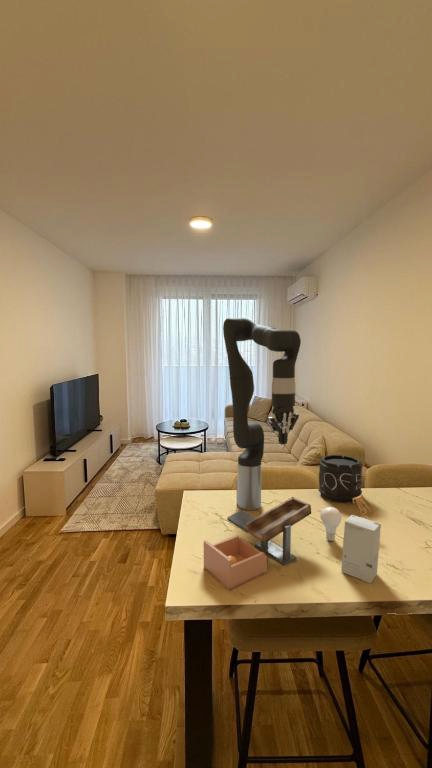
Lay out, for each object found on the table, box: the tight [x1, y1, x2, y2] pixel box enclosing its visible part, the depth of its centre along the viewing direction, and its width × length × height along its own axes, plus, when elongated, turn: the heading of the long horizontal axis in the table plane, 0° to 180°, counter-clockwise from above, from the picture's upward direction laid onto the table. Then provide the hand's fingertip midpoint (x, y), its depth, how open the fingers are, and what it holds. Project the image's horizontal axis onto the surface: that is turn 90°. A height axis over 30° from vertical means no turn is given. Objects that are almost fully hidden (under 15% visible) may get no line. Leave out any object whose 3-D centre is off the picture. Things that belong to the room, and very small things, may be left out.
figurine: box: [352, 494, 372, 521], centre depth 125 cm, size 8×6×12 cm
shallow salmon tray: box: [203, 535, 268, 591], centre depth 101 cm, size 12×13×8 cm
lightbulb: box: [320, 506, 342, 542], centre depth 117 cm, size 6×6×11 cm
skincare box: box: [340, 514, 382, 584], centre depth 99 cm, size 8×6×15 cm
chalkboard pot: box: [317, 454, 364, 504], centre depth 153 cm, size 18×18×16 cm
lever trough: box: [226, 496, 312, 543], centre depth 114 cm, size 20×18×3 cm
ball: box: [227, 556, 237, 565], centre depth 100 cm, size 4×4×4 cm
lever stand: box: [254, 513, 298, 567], centre depth 110 cm, size 5×13×10 cm, turn 35°
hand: (282, 443), depth 119 cm, fingers closed
